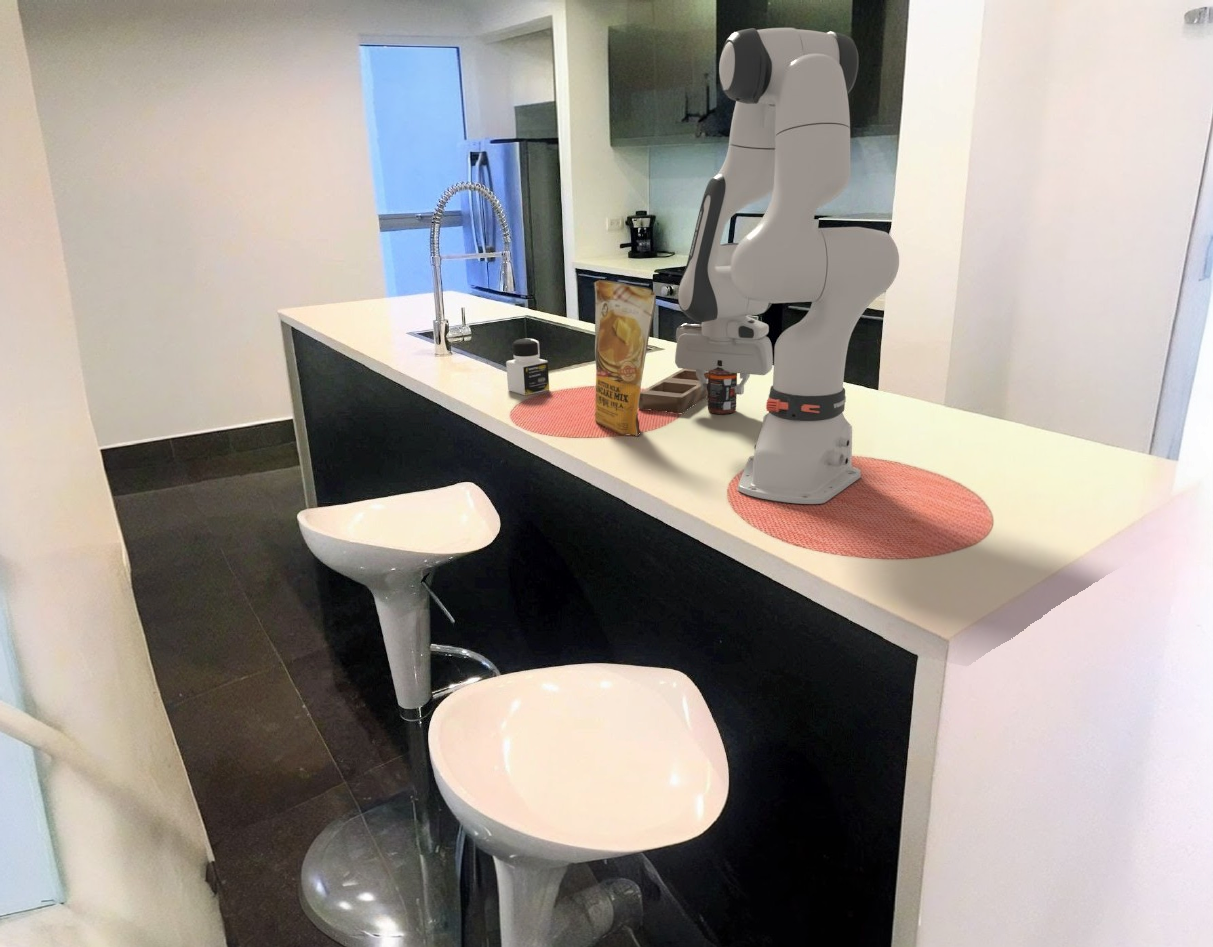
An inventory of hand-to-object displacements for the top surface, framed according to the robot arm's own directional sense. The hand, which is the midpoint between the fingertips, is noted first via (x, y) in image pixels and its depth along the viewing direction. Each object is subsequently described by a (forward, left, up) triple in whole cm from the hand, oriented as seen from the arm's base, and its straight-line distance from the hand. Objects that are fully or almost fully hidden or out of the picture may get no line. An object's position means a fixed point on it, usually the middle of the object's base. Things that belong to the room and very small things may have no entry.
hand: (722, 392), depth 173 cm
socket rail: (+8, +12, -4) cm, 15 cm away
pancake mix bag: (-17, +15, -4) cm, 23 cm away
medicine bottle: (0, +48, -4) cm, 48 cm away
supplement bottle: (0, 0, -4) cm, 4 cm away
